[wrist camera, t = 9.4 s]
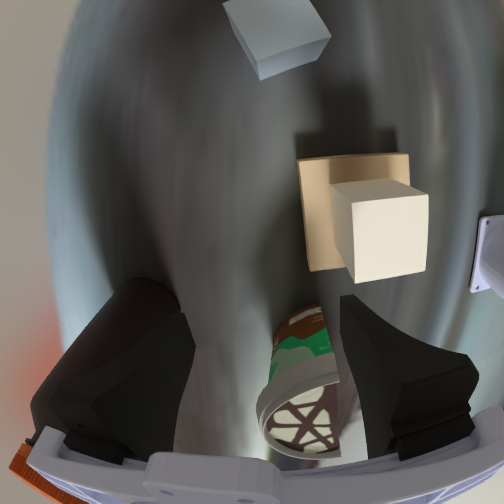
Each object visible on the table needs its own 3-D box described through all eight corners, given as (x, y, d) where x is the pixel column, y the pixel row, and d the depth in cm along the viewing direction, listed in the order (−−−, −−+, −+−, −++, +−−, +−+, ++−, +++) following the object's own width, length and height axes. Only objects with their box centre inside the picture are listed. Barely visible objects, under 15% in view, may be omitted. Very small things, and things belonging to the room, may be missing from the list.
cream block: (389, 178, 18) (428, 194, 13) (391, 237, 19) (424, 270, 14) (329, 184, 18) (351, 202, 13) (335, 246, 20) (354, 283, 15)
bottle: (126, 332, 27) (36, 491, 9) (111, 274, 24) (-25, 439, 6) (186, 339, 27) (118, 532, 8) (177, 278, 24) (59, 499, 6)
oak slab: (394, 151, 19) (408, 154, 17) (396, 246, 22) (408, 258, 20) (295, 159, 20) (298, 161, 18) (306, 257, 23) (310, 271, 21)
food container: (246, 300, 24) (232, 390, 15) (317, 287, 23) (339, 375, 14) (273, 390, 29) (271, 468, 20) (329, 381, 28) (341, 459, 19)
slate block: (289, 13, 15) (294, -21, 10) (316, 60, 17) (331, 36, 12) (234, 33, 16) (222, 3, 11) (260, 80, 18) (256, 61, 12)
